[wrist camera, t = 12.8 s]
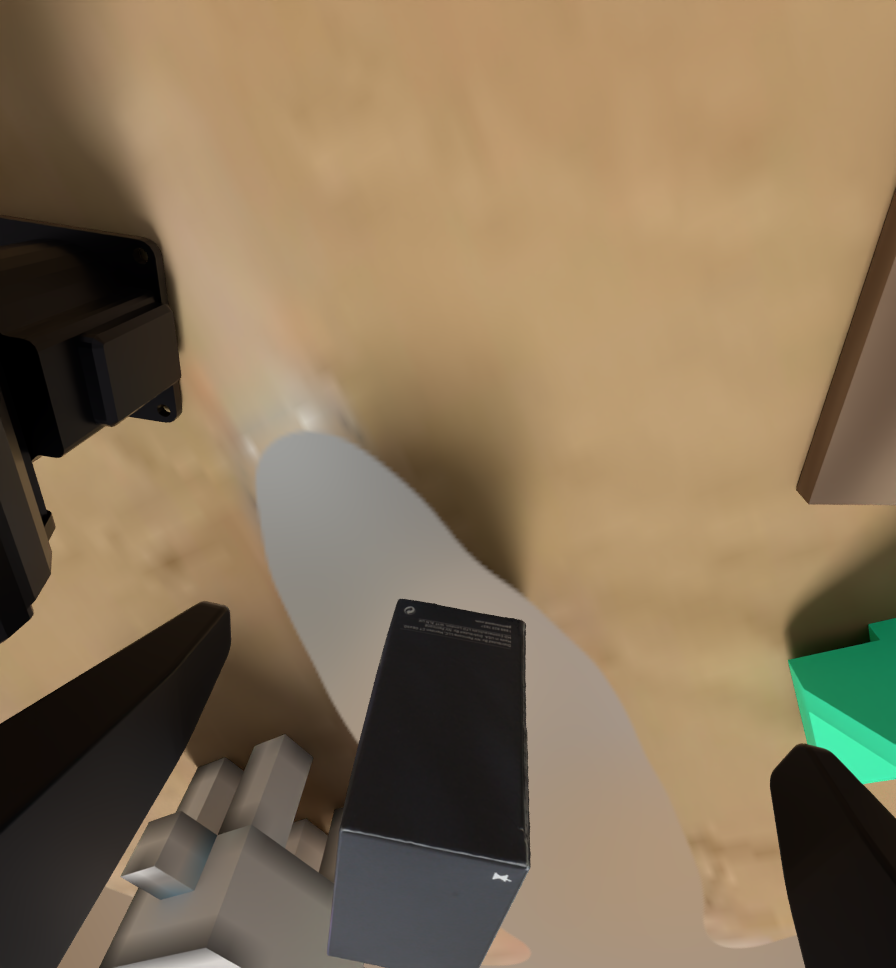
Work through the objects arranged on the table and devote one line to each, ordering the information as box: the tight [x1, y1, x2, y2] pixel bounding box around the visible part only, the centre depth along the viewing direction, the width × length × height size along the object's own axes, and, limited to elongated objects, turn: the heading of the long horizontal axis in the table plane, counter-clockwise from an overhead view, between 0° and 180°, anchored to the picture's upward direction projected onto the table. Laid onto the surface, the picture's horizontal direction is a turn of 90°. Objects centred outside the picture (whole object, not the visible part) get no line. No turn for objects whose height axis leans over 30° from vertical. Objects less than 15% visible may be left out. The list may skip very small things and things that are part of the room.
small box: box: [327, 599, 530, 968], centre depth 24 cm, size 11×6×10 cm, turn 171°
